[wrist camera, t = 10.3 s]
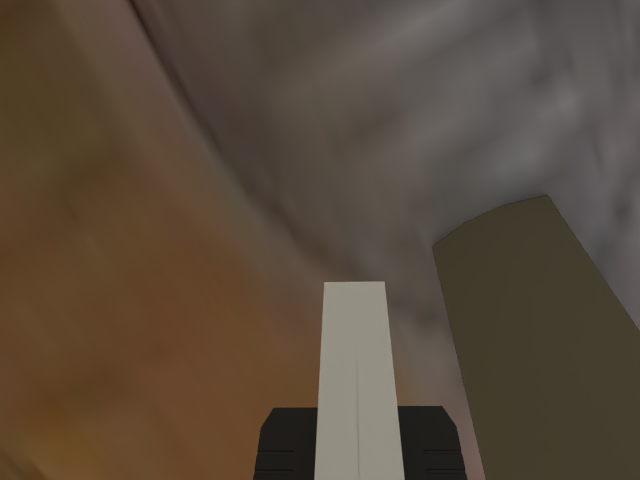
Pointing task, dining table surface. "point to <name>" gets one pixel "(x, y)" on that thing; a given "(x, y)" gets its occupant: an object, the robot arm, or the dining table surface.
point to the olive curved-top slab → (541, 348)
